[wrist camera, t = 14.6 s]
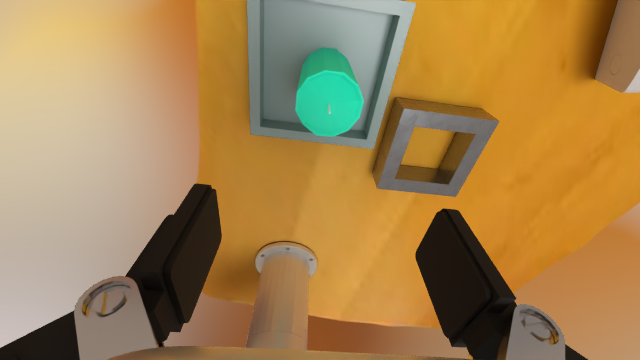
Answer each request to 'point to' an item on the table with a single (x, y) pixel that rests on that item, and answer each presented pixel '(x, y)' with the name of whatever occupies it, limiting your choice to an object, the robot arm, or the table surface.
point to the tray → (310, 35)
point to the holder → (457, 161)
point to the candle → (328, 93)
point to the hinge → (622, 49)
